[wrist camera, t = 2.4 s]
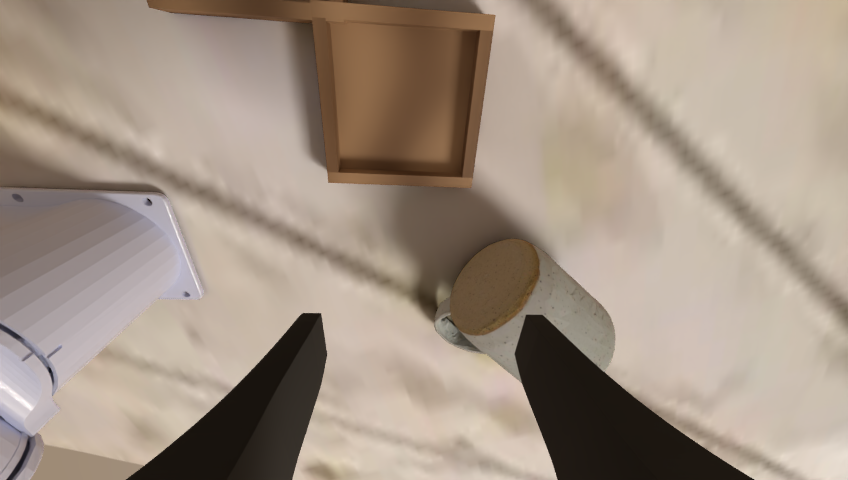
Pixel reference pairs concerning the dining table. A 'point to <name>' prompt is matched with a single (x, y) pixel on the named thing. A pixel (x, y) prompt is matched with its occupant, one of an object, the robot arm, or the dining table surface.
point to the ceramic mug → (521, 305)
